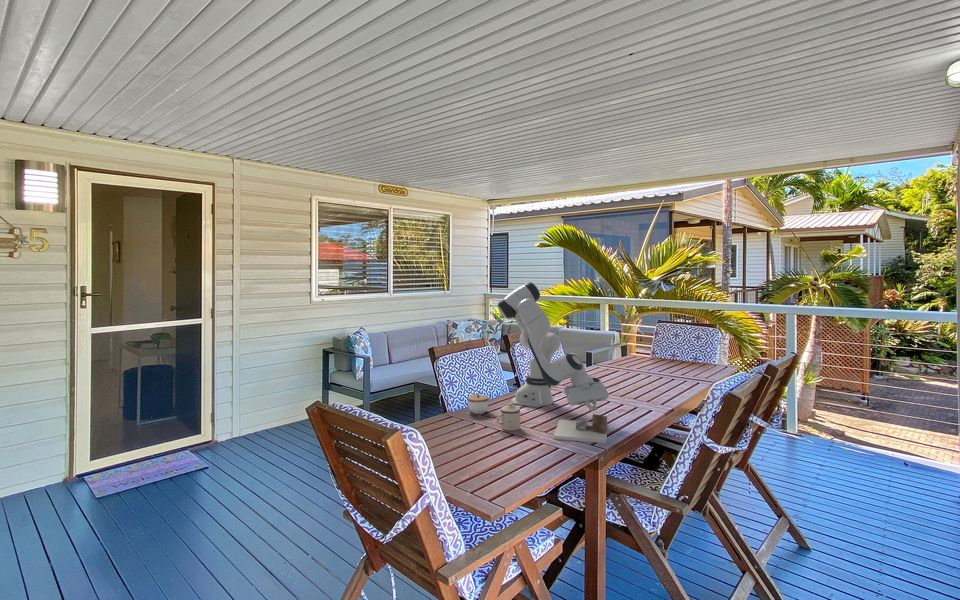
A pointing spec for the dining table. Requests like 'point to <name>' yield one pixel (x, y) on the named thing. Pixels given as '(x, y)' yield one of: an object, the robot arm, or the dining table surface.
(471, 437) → the dining table surface
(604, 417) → the tuning peg
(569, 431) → the plate
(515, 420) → the teacup with lid
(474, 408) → the lidded jar
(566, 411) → the dining table surface
